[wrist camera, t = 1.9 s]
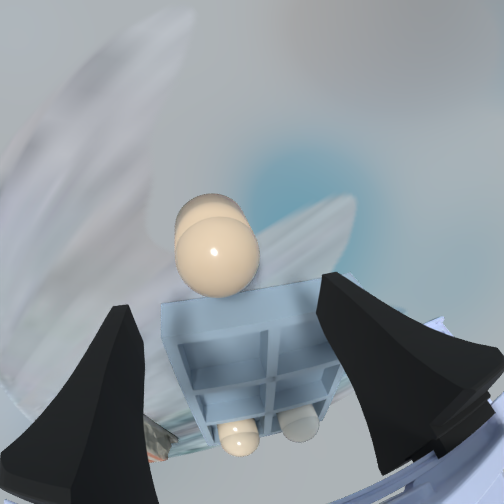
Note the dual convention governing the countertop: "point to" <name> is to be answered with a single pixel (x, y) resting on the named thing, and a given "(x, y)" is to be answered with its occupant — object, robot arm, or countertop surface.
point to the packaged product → (157, 441)
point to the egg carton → (251, 355)
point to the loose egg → (215, 246)
